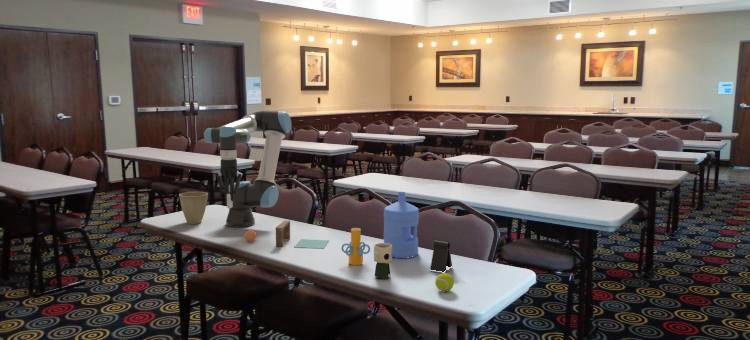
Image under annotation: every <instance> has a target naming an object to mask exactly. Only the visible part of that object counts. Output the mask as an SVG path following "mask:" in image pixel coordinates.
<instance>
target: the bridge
mask: <svg viewBox="0 0 750 340" xmlns="http://www.w3.org/2000/svg"><path fill="white" fill-rule="evenodd" d="M290 240H291V220H283V221H282V222H280V224H278V225H277V226H276V227H275V247H276V248H283V247H284V241H290Z"/></svg>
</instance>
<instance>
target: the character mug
mask: <svg viewBox="0 0 750 340" xmlns="http://www.w3.org/2000/svg"><path fill="white" fill-rule="evenodd" d="M391 253H392V245H391V244H388V243H384V242H378V243H375V244H373V261H374V262H376V264H375V269H374V277H377V278H379V279H388V278H389V277H391V276H392V275H391V266H390V263H391V262H392V260H393V258H392V255H391Z"/></svg>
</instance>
